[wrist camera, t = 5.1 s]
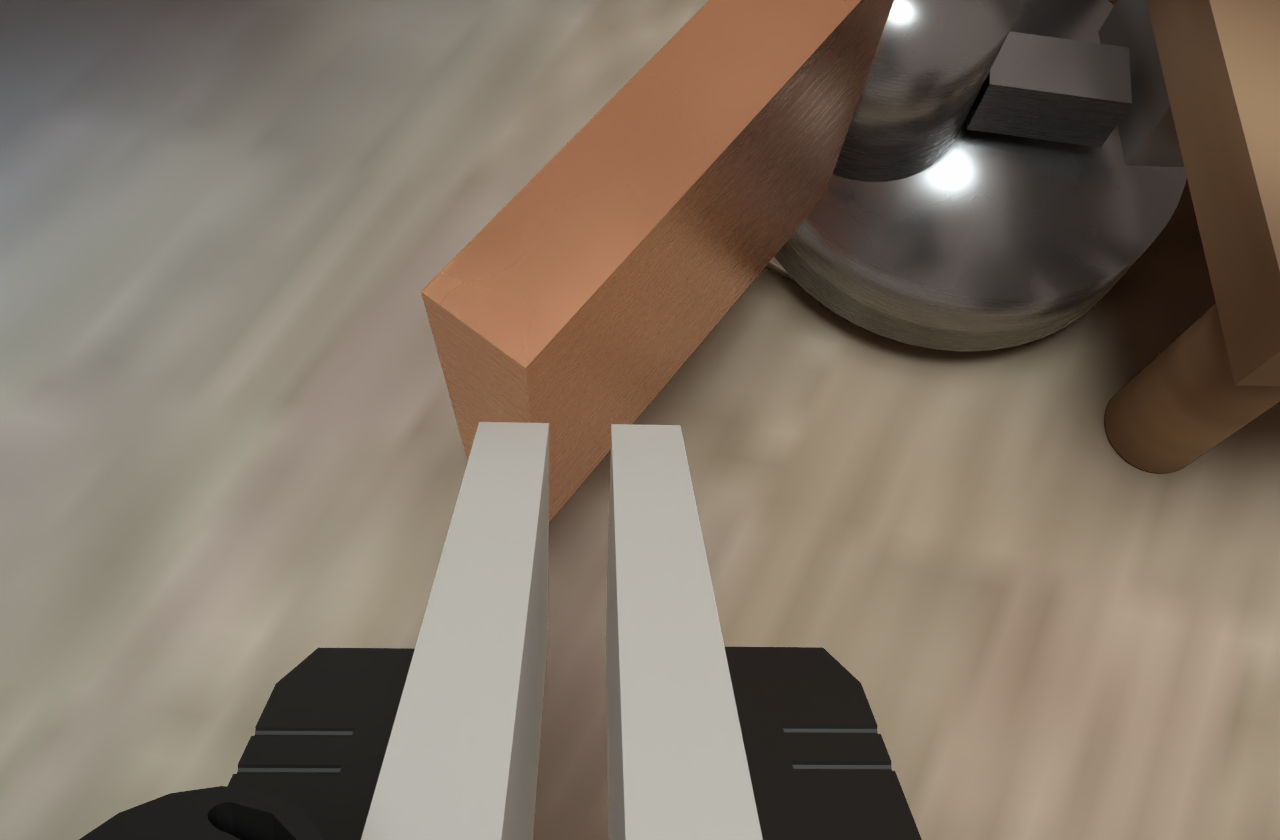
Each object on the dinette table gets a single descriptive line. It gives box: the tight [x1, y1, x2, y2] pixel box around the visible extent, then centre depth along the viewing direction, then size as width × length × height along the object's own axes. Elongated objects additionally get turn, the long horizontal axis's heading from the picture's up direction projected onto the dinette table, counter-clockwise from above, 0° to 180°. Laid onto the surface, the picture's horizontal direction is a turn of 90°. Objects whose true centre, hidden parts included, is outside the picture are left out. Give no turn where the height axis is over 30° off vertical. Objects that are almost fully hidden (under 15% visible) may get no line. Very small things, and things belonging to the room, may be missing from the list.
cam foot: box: [421, 0, 1187, 522], centre depth 17 cm, size 15×10×8 cm, turn 142°
